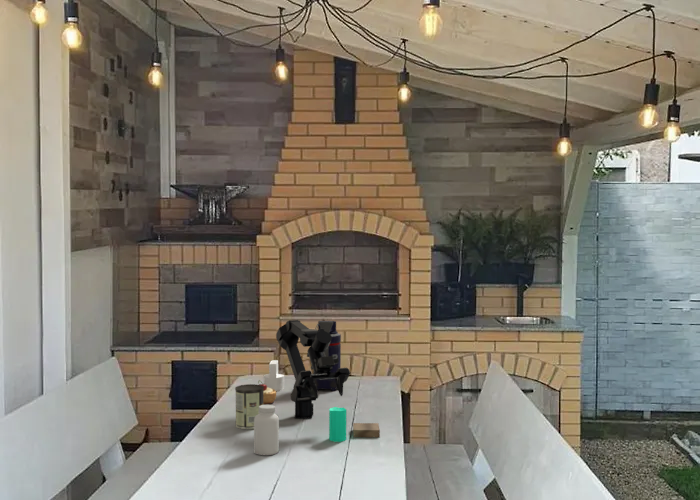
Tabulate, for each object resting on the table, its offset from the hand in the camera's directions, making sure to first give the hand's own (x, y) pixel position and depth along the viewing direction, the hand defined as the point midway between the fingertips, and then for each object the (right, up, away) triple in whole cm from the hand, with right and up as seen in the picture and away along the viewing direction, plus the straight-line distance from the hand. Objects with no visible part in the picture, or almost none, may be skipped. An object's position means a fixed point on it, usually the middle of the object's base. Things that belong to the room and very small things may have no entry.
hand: (329, 396), depth 280 cm
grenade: (-3, -10, +71) cm, 71 cm away
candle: (+3, -14, -6) cm, 15 cm away
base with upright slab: (-26, -10, +69) cm, 75 cm away
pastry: (-29, -11, +45) cm, 55 cm away
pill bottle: (-20, -14, -21) cm, 32 cm away
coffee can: (-29, -13, +11) cm, 34 cm away
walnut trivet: (+13, -13, +1) cm, 18 cm away
